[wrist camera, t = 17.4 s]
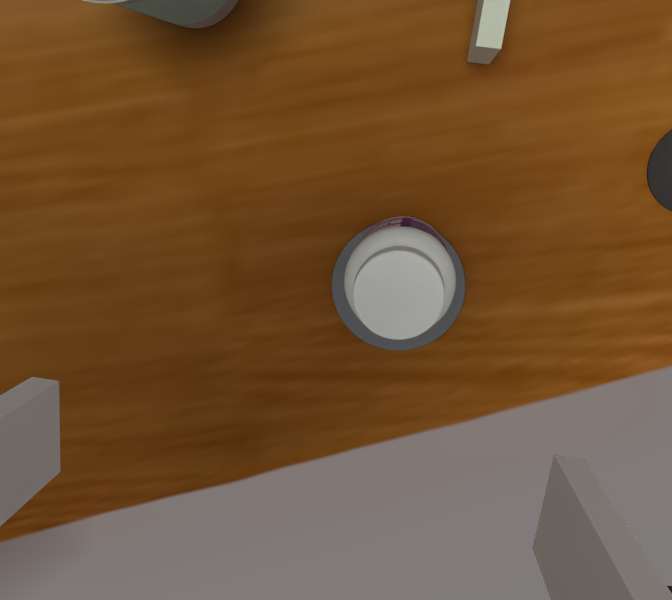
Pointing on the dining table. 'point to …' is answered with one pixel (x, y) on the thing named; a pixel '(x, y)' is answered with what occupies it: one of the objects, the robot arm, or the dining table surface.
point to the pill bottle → (400, 278)
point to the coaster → (379, 341)
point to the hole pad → (661, 171)
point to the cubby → (488, 30)
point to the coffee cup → (180, 10)
